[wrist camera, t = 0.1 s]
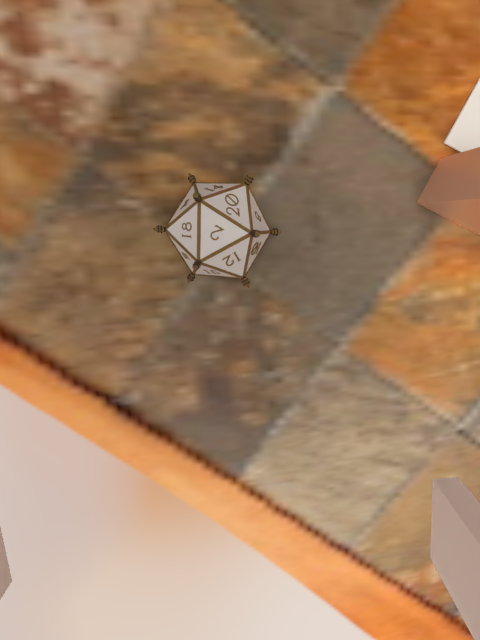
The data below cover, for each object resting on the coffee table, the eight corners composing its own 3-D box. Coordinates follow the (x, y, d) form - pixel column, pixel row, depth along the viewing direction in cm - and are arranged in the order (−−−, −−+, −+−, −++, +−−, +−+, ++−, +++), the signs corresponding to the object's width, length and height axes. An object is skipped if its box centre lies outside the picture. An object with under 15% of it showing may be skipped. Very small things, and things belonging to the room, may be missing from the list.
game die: (205, 214, 43) (156, 139, 34) (295, 217, 40) (267, 136, 31) (181, 303, 40) (121, 247, 31) (275, 313, 37) (238, 255, 28)
